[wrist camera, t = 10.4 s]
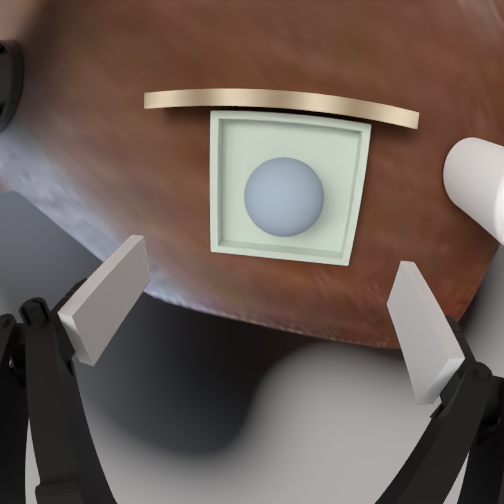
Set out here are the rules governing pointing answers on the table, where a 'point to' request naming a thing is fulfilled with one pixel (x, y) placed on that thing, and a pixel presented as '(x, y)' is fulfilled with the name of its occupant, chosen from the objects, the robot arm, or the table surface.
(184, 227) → the table surface
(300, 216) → the ball
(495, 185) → the beverage can
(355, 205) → the tray
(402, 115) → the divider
